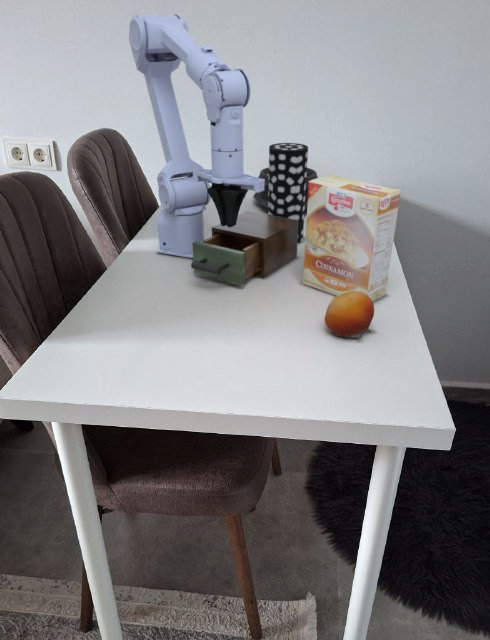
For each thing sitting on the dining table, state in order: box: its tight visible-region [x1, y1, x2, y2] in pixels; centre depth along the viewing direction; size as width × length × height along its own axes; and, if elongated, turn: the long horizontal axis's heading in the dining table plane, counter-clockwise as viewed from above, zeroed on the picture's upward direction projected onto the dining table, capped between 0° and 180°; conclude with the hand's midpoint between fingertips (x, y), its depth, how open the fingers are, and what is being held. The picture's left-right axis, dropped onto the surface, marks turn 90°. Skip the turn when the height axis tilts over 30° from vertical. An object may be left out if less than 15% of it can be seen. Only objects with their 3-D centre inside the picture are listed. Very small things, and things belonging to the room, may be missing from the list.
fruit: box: [324, 291, 375, 340], centre depth 94 cm, size 8×8×8 cm
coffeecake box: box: [302, 174, 402, 303], centre depth 104 cm, size 15×7×20 cm, turn 46°
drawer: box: [190, 233, 262, 287], centre depth 112 cm, size 17×11×6 cm
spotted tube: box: [267, 142, 309, 244], centre depth 127 cm, size 8×8×20 cm
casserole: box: [253, 166, 319, 211], centre depth 154 cm, size 25×19×8 cm
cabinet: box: [211, 210, 299, 279], centre depth 119 cm, size 14×13×8 cm
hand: (228, 225), depth 109 cm, fingers closed
